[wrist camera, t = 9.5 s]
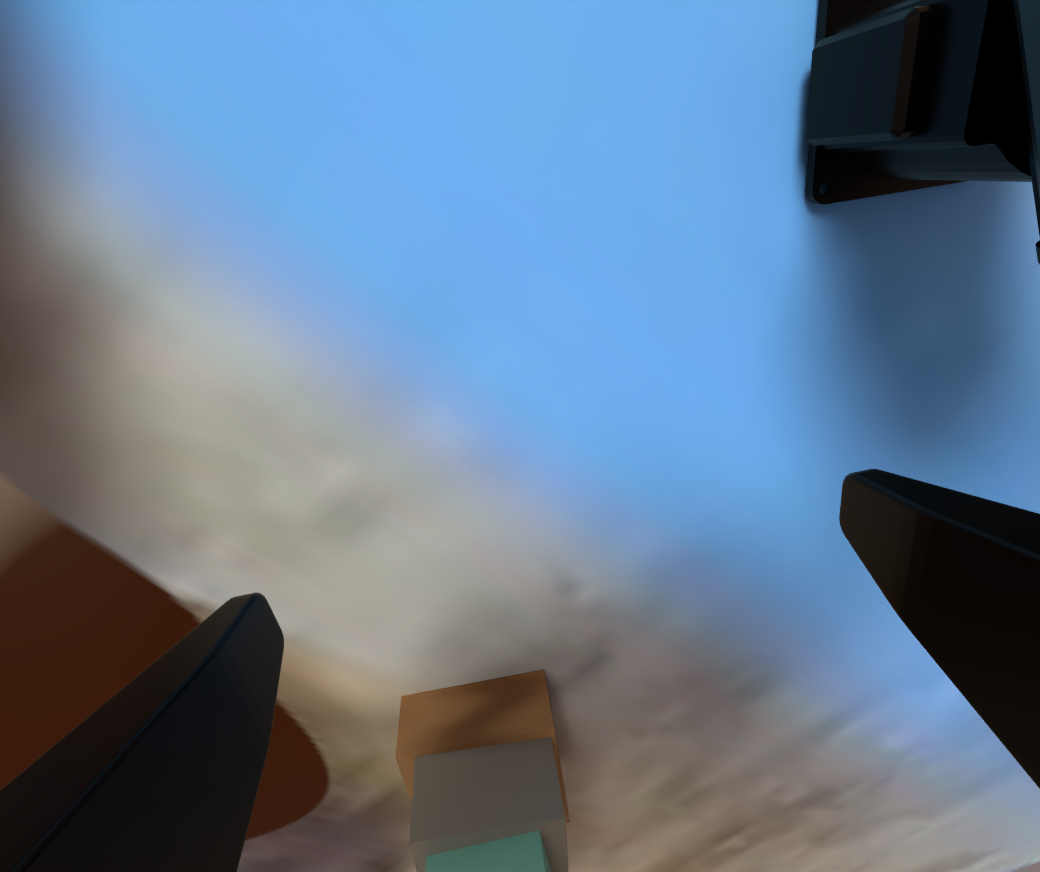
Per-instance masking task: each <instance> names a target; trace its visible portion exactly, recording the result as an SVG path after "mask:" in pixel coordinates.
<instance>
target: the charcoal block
mask: <svg viewBox="0 0 1040 872" xmlns="http://www.w3.org/2000/svg"><path fill="white" fill-rule="evenodd" d="M538 830H540V834H541V837H542V841H543V844H544V847H545V851H546V854H547V858H548V861H549V865H550V868H551V872H568V856H567V839H566V822H565V814H564V808H563V803H562V797H561V791H560V785H559V780H558V774H557V768H556V763H555V757H554V751H553V746H552V740H551V737H545V738H538V739H531V740H525V741H518V742H511V743H504V744H498V745H491V746H484V747H477V748H471V749H464V750H457V751H450V752H444V753H437V754H430V755H423V756H417V757H415V762H414V778H413V794H412V810H411V825H410V841H409V844H410V847H411V851H412V855H413V859H414V863H415V866H416V870H417V872H426V856H429V855H434V854H438V853H442V852H447V851H451V850H455V849H460V848H464V847H468V846H473V845H477V844H481V843H486V842H490V841H494V840H499V839H503V838H507V837H512V836H516V835H520V834H525V833H529V832H534V831H538Z"/></svg>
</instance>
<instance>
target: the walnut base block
mask: <svg viewBox="0 0 1040 872" xmlns="http://www.w3.org/2000/svg"><path fill="white" fill-rule="evenodd" d="M545 737H551V740H552V746H553V751H554V757H555V763H556V768H557V774H558V780H559V785H560V791H561V797H562V803H563V808H564V814H565V822H570V820H569V814H568V808H567V802H566V796H565V790H564V784H563V777H562V771H561V765H560V759H559V753H558V747H557V741H556V735H555V728H554V723H553V717H552V712H551V706H550V701H549V696H548V690H547V685H546V679H545V674H544V670H538V671H533V672H528V673H522V674H517V675H512V676H507V677H501V678H496V679H491V680H485V681H480V682H475V683H469V684H464V685H459V686H453V687H448V688H443V689H437V690H432V691H427V692H422V693H416V694H411V695H406V696H402V698H401V708H400V718H399V729H398V739H397V749H396V760H397V763H398V765H399V768H400V771H401V774H402V777H403V779H404V782H405V785H406V788H407V790H408V793H409V796H410V799H411V802H412V794H413V778H414V762H415V757H417V756H423V755H430V754H437V753H444V752H450V751H457V750H464V749H471V748H477V747H484V746H491V745H498V744H504V743H511V742H518V741H525V740H531V739H538V738H545Z"/></svg>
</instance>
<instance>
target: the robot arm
mask: <svg viewBox="0 0 1040 872" xmlns="http://www.w3.org/2000/svg"><path fill="white" fill-rule="evenodd" d="M806 138H807V140H808V141H809V153H808V166H807V179H806V196H807V198H808V200H809V201H810V202H812V203H816V204H830V203H836V202H842V201H848V200H854V199H860V198H867V197H873V196H879V195H885V194H891V193H897V192H903V191H909V190H915V189H921V188H927V187H933V186H940V185H946V184H952V183H958V182H964V181H1016V182H1032V184H1033V191H1034V199H1035V206H1036V213H1037V221H1038V228H1039V235H1040V0H820V7H819V20H818V33H817V45H816V47H815V48H814V50H813V52H812V65H811V78H810V92H809V106H808V119H807V133H806ZM824 181H826V182H827V189H826V191H825V193H824V194H823V195H821V194H820V186H821V184H822V183H823V182H824ZM1036 251H1037V258H1038V263H1039V264H1040V240H1039V241H1038V242H1037V243H1036ZM839 520H840V526H841V529H842V531H843V533H844V535H845V537H846V538H847V540H848V541H849V543H850V544H851V546H852V547H853V549H854V550H855V552H856V553H857V555H858V556H859V558H860V559H861V561H862V562H863V564H864V565H865V567H866V568H867V570H868V571H869V573H870V574H871V576H872V577H873V579H874V580H875V582H876V583H877V585H878V586H879V588H880V589H881V591H882V593H883V594H884V596H885V597H886V599H887V600H888V602H889V603H890V604H891V606H892V607H893V609H894V610H895V611H896V613H897V614H898V616H899V617H900V618H901V620H902V621H903V622H904V623H905V625H906V626H907V627H908V629H909V630H910V631H911V632H912V634H913V635H914V636H915V637H916V638H917V640H918V641H919V642H920V643H921V645H922V646H923V647H924V648H925V649H926V651H927V652H928V653H929V654H930V656H931V657H932V658H933V659H934V660H935V662H936V663H937V664H938V665H939V667H940V668H941V669H942V670H943V671H944V673H945V674H946V675H947V676H948V678H949V679H950V680H951V681H952V682H953V684H954V685H955V686H956V687H957V688H958V690H959V691H960V692H961V693H962V695H963V696H964V697H965V698H966V699H967V701H968V702H969V703H970V704H971V706H972V707H973V708H974V709H975V710H976V712H977V713H978V714H979V715H980V717H981V718H982V719H983V720H984V721H985V723H986V724H987V725H988V726H989V727H990V729H991V730H992V731H993V732H994V734H995V735H996V736H997V737H998V738H999V740H1000V741H1001V742H1002V743H1003V745H1004V746H1005V747H1006V748H1007V749H1008V751H1009V752H1010V753H1011V754H1012V756H1013V757H1014V758H1015V759H1016V760H1017V762H1018V763H1019V764H1020V765H1021V766H1022V768H1023V769H1024V770H1025V771H1026V773H1027V774H1028V775H1029V776H1030V777H1031V779H1032V780H1033V781H1034V782H1035V784H1036V785H1037V786H1038V787H1039V788H1040V514H1038V513H1035V512H1031V511H1027V510H1024V509H1020V508H1017V507H1013V506H1009V505H1006V504H1002V503H998V502H995V501H991V500H987V499H984V498H980V497H976V496H973V495H969V494H965V493H962V492H958V491H955V490H951V489H947V488H944V487H940V486H936V485H933V484H929V483H925V482H922V481H918V480H914V479H911V478H907V477H903V476H900V475H896V474H893V473H889V472H885V471H882V470H878V469H869V470H864V471H859V472H854V473H850V474H848V475H847V476H846V477H845V478H844V480H843V486H842V496H841V506H840V516H839ZM283 650H284V638H283V633H282V630H281V628H280V626H279V624H278V622H277V620H276V618H275V616H274V614H273V612H272V610H271V608H270V606H269V604H268V602H267V600H266V598H265V597H264V596H263V595H262V594H260V593H251V594H246V595H241V596H237V597H233V598H231V599H230V600H228V601H227V602H226V603H225V604H223V605H222V606H221V607H220V608H219V609H217V610H216V611H215V612H214V613H213V614H211V615H210V616H209V617H208V618H207V619H205V620H204V621H203V622H202V623H201V624H199V625H198V626H197V627H196V628H195V629H194V630H192V631H191V632H190V633H189V634H188V635H186V636H185V637H184V638H183V639H181V640H180V641H179V642H178V643H177V644H175V646H173V647H172V648H171V649H170V650H168V651H167V652H166V653H165V654H163V655H162V656H161V657H160V658H159V659H157V660H156V661H155V662H154V663H153V664H151V665H150V666H149V667H148V668H147V669H145V670H144V671H143V672H142V673H141V674H139V675H138V676H137V677H136V678H135V679H133V680H132V681H131V682H130V683H129V684H127V685H126V686H125V687H124V688H123V689H121V690H120V691H119V692H118V693H117V694H115V695H114V696H113V697H112V698H111V699H109V700H108V701H107V702H106V703H105V704H103V705H102V706H101V707H100V708H99V709H97V710H96V711H95V712H94V713H93V714H91V715H90V716H89V717H88V718H87V719H85V720H84V721H83V722H82V723H81V724H79V725H78V726H77V727H76V728H75V729H73V730H72V731H71V732H70V733H69V734H67V735H66V736H65V737H64V738H63V739H62V740H60V741H59V742H58V743H57V744H55V745H54V746H53V747H52V748H51V749H49V750H48V751H47V752H46V753H45V754H43V755H42V756H41V757H40V758H39V759H37V760H36V761H35V762H34V763H33V764H31V765H30V766H29V767H28V768H27V769H25V770H24V771H23V772H22V773H21V774H19V775H18V776H17V777H16V778H15V779H13V780H12V781H11V782H10V783H9V784H7V785H6V786H5V787H4V788H3V789H1V790H0V872H237V868H238V865H239V861H240V857H241V853H242V849H243V845H244V841H245V837H246V834H247V830H248V826H249V822H250V818H251V814H252V810H253V806H254V803H255V799H256V795H257V791H258V787H259V783H260V779H261V776H262V771H263V767H264V764H265V759H266V755H267V751H268V747H269V741H270V736H271V731H272V724H273V717H274V711H275V704H276V697H277V690H278V684H279V677H280V670H281V663H282V657H283Z"/></svg>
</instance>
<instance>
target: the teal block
mask: <svg viewBox="0 0 1040 872" xmlns="http://www.w3.org/2000/svg"><path fill="white" fill-rule="evenodd" d="M426 872H551V868H550V865H549V861H548V858H547V854H546V851H545V847H544V844H543V841H542V837H541V834H540V830H538V831H534V832H529V833H525V834H520V835H516V836H512V837H507V838H503V839H499V840H494V841H490V842H486V843H481V844H477V845H473V846H468V847H464V848H460V849H455V850H451V851H447V852H442V853H438V854H434V855H429V856H426Z"/></svg>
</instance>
